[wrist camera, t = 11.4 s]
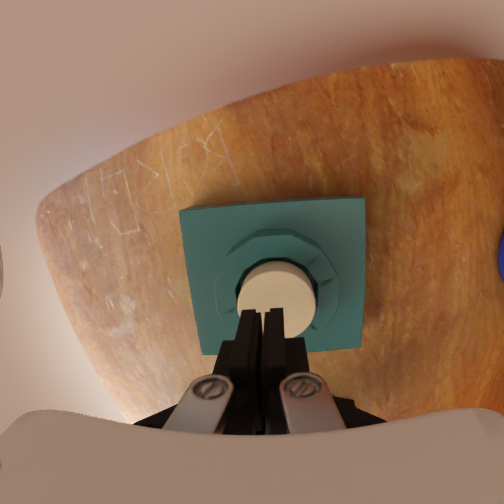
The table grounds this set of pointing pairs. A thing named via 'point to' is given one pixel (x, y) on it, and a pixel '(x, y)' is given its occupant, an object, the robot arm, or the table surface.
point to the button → (280, 294)
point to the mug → (501, 258)
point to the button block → (278, 249)
